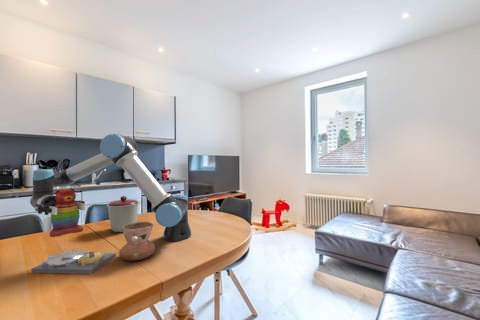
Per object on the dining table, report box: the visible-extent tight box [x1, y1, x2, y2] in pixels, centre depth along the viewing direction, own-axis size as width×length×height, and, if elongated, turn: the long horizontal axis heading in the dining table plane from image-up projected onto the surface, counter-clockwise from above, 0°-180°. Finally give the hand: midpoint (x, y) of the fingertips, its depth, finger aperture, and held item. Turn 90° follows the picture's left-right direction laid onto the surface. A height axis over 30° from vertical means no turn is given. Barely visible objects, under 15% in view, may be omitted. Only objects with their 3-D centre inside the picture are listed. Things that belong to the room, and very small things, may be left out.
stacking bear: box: [48, 188, 84, 238], centre depth 91 cm, size 11×10×18 cm
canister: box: [106, 195, 140, 233], centre depth 136 cm, size 18×18×21 cm
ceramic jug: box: [118, 221, 156, 262], centre depth 97 cm, size 18×14×14 cm
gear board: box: [30, 250, 117, 275], centre depth 91 cm, size 24×15×5 cm, turn 87°
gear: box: [42, 249, 89, 269], centre depth 91 cm, size 15×15×2 cm
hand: (70, 209), depth 88 cm, fingers closed on stacking bear, 9 cm apart
